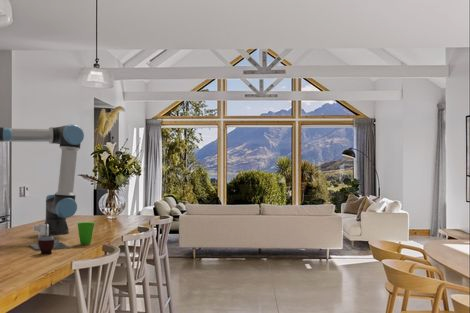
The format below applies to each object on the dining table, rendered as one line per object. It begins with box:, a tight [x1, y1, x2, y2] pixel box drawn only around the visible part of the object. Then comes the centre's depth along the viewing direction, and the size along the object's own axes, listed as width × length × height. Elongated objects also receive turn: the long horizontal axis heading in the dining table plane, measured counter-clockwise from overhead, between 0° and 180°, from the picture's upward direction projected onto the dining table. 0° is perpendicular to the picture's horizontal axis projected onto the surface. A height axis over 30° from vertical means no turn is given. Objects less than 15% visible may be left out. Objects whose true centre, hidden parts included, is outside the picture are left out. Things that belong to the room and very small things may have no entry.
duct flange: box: [28, 239, 70, 251], centre depth 270 cm, size 16×16×3 cm
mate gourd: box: [37, 223, 55, 255], centre depth 251 cm, size 8×8×15 cm
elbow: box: [32, 223, 50, 243], centre depth 281 cm, size 8×5×10 cm, turn 122°
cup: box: [76, 221, 95, 245], centre depth 283 cm, size 9×9×11 cm
